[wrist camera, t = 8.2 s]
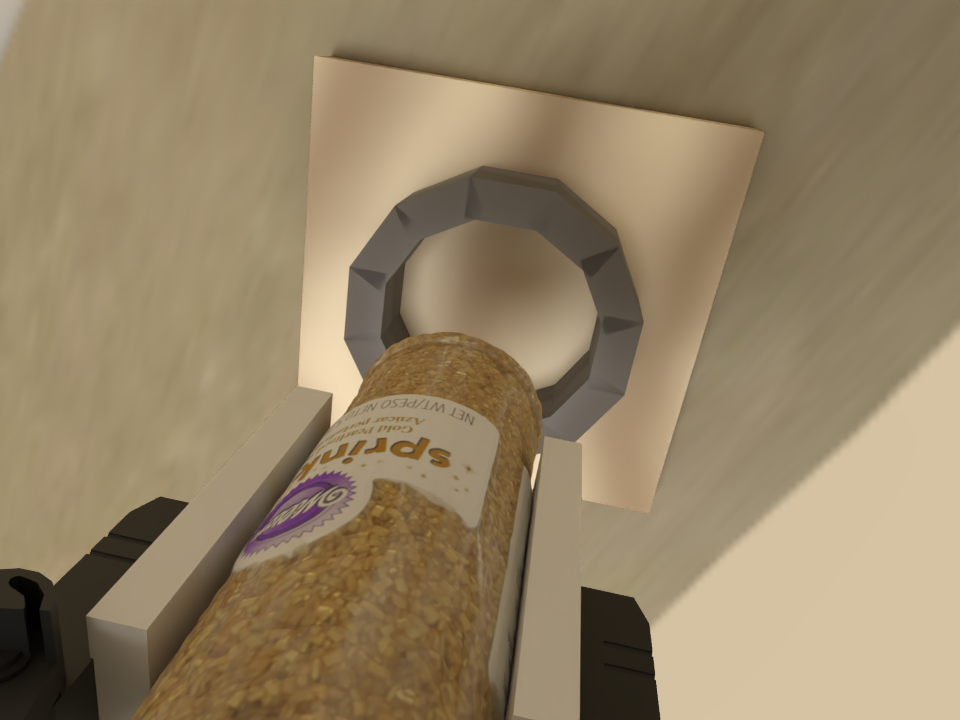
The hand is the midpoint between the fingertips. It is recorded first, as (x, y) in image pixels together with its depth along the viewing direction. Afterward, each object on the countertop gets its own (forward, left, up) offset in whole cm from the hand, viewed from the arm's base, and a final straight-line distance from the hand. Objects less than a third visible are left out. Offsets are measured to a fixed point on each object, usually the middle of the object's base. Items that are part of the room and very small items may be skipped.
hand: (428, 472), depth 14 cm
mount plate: (0, 0, -12) cm, 12 cm away
